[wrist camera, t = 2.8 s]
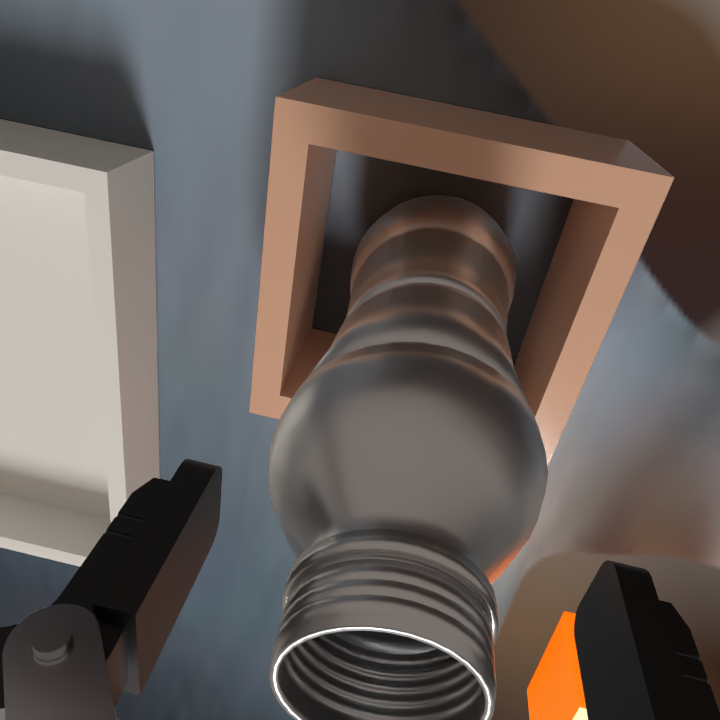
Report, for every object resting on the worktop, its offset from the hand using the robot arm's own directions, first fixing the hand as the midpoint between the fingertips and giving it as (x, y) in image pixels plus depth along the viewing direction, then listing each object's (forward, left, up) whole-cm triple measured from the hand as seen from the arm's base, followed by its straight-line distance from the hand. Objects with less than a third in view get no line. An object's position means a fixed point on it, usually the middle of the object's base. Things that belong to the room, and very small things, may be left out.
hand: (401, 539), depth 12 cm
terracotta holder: (0, 0, -17) cm, 17 cm away
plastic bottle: (0, 0, -17) cm, 17 cm away
